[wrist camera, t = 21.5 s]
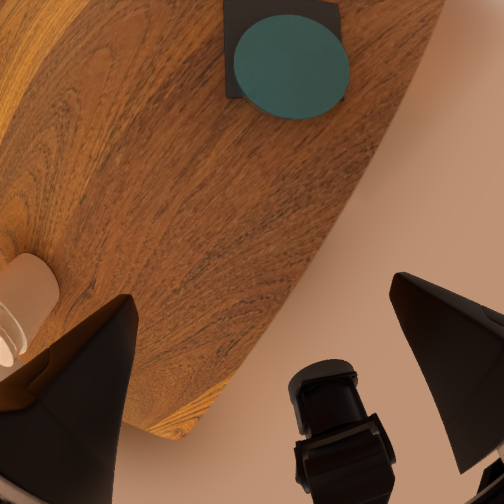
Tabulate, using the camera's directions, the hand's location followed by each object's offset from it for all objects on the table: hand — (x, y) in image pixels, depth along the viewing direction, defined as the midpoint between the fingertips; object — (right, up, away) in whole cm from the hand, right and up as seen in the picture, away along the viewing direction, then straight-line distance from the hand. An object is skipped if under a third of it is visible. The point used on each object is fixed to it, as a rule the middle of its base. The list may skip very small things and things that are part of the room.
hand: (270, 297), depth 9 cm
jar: (-22, -1, +12) cm, 25 cm away
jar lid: (+2, +12, +5) cm, 13 cm away
